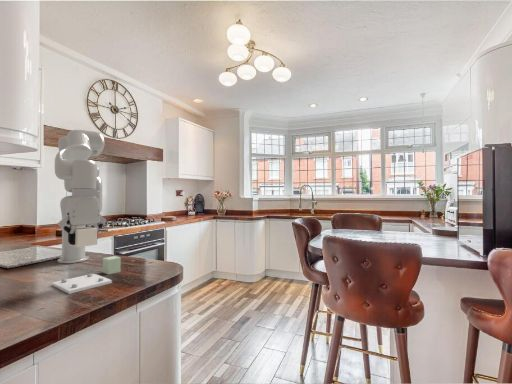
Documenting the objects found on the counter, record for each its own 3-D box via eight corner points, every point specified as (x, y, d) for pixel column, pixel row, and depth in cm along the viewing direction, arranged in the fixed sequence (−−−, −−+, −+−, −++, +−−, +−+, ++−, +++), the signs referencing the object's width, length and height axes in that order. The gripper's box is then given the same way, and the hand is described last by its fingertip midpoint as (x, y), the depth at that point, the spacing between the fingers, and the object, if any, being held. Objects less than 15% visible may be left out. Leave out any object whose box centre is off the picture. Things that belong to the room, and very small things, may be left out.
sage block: (102, 272, 114) (102, 258, 114) (114, 269, 118) (114, 255, 118) (108, 274, 111) (108, 259, 111) (120, 271, 115) (120, 257, 115)
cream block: (69, 245, 98) (69, 228, 99) (88, 242, 104) (89, 226, 104) (77, 247, 95) (77, 229, 95) (97, 244, 100) (97, 228, 100)
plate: (52, 285, 98) (52, 280, 98) (93, 275, 109) (93, 271, 109) (69, 294, 90) (69, 288, 90) (112, 282, 101) (112, 278, 101)
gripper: (103, 193, 109) (102, 239, 109) (51, 193, 95) (51, 245, 94) (113, 194, 104) (112, 241, 104) (60, 193, 90) (59, 248, 90)
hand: (83, 242), depth 99 cm, fingers closed on cream block, 6 cm apart
